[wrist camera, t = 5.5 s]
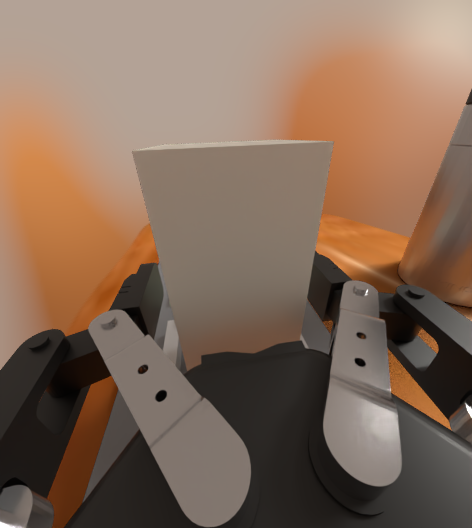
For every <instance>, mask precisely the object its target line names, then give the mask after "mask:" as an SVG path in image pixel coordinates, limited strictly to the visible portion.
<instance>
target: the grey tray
mask: <svg viewBox="0 0 472 528" xmlns="http://www.w3.org/2000/svg"><path fill="white" fill-rule="evenodd" d="M158 269H159V273H160V277H161V281H162V285H163V290H164V297H163V301H162V306H161V311H160V315H159V320H158V324H157V329H156V333H155V338H154V341H155V342H156V343H157V345H158V346H159V347H160V348H161V349H162V350H163V352H164V353H165V354H166V355H167V356H168V358H169V359H170V360H171V361H172V362H173V364H174V365H175V366H176V367H177V368H178V370H179V371H180V372H181V373H182V374H184V373H186V372H187V368H186V364H185V360H184V356H183V352H182V348H181V344H180V340H179V336H178V332H177V328H176V324H175V320H174V316H173V312H172V308H171V304H170V300H169V296H168V292H167V288H166V284H165V280H164V276H163V273H162V269H161V265H160V261H159V264H158ZM330 336H331V334H330V333H329V331H328V330H327V328H326V327H325V325H324V324H323V322H322V321H321V320H320V318H319V317H318V315H317V314H316V312H315V311H314V309H313V308H312V306H311V305H310V303H309V302H308V300H307V301H306V307H305V313H304V318H303V324H302V330H301V336H300V340H302V342H303V344H304V346H305V348H309V349H315V350H318V351H321V352H324V353H326V354H327V351H328V346H329V341H330ZM139 429H140V428H139V426H138V425H137V423H136V421H135V419H134V417H133V415H132V413H131V411H130V409H129V407H128V406H127V404H126V402H125V400H124V398H123V396H122V394H121V392H120V390H119V389H118V393H117V396H116V399H115V402H114V405H113V408H112V411H111V415H110V418H109V421H108V424H107V427H106V430H105V433H104V437H103V440H102V443H101V446H100V449H99V452H98V455H97V459H96V462H95V465H94V468H93V471H92V474H91V477H90V481H89V484H88V487H87V490H86V493H85V496H84V499H83V502H84V501H85V499H86V498H87V497H88V495H89V494H90V493H91V491H92V490H93V489H94V487H95V486H96V485H97V484H98V482H99V481H100V480H101V478H102V477H103V476H104V474H105V473H106V472H107V470H108V469H109V468H110V467H111V465H112V464H113V463H114V461H115V460H116V459H117V457H118V456H119V455H120V453H121V452H122V451H123V450H124V448H125V447H126V446H127V444H128V443H129V442H130V440H131V439H132V438H133V436H134V435H135V434H136V432H137V431H138V430H139Z"/></svg>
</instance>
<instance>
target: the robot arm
mask: <svg viewBox="0 0 472 528" xmlns="http://www.w3.org/2000/svg"><path fill="white" fill-rule="evenodd" d="M466 104H467V105H466V106H465V107H464V109H463V112H462V114H461V117H460V119H459V121H458V124H457V126H456V129H455V131H454V134H453V136H452V139H451V141H450V145H449V146H448V149H447V151H446V154H445V156H444V158H443V161H442V163H441V166H440V168H439V170H438V173H437V175H436V178H435V180H434V183H433V185H432V187H431V190H430V192H429V195H428V197H427V200H426V202H425V204H424V207H423V209H422V212H421V214H420V217H419V219H418V221H417V224H416V226H415V228H414V231H413V233H412V236H411V238H410V240H409V243H408V245H407V247H406V250H405V252H404V255H403V257H402V260H401V262H400V265H399V267H398V274H399V276H400V277H401V279H402V280H403V281H405V282H406V283H407V284H408V285H400V286H398V287H397V289H396V291H395V293H394V294H391V293H380V292H378V291H377V290H376V289H375V288H374V287H373V286H372V285H370V284H368V283H365V282H362V281H353V280H352V279H350V278H349V277H348V276H347V275H346V274H345V273H344V272H343V271H342V270H341V269H340V268H339V267H338V266H336V265H335V264H334V263H333V262H332V261H331V260H330V259H329V258H327V257H325V256H323V255H321V254H320V255H319V254H318V253H317V252H316V251H315V254H314V260H313V266H312V272H311V278H310V283H309V289H308V295H307V299H308V300H309V302H310V303H311V305H312V306H313V308H314V309H315V311H316V312H317V314H318V315H319V317H320V318H321V320H322V321H329V320H332V321H333V326H332V330H331V336H330V341H329V346H328V351H327V354H326V353H324V352H321V351H318V350H315V349H309V348H305V346H304V344H303V342H302V340H299V341H293V342H286V343H279V344H276V345H274V346H271V347H269V348H266V349H264V350H262V351H259V352H257V353H240V352H220V353H213V354H207V355H201V364H200V365H197V366H195V367H193V368H192V369H190V370H189V371H187V372H186V373H184V374H182V373H181V372H180V371H179V370H178V368H177V367H176V366H175V365H174V364H173V362H172V361H171V360H170V359H169V358H168V356H167V355H166V354H165V353H164V352H163V350H162V349H161V348H160V347H159V346H158V345H157V343H156V342H155V341H154V338H155V333H156V329H157V324H158V320H159V315H160V311H161V306H162V301H163V297H164V290H163V285H162V281H161V277H160V273H159V269H158V266H157V264H156V263H148V264H141V265H140V267H139V269H138V272H137V274H131V275H130V276H129V277H128V278H127V279H126V280H125V281H124V283H123V284H122V286H121V288H120V290H119V292H118V293H119V294H117V296H116V298H115V300H114V302H113V304H112V306H111V308H110V310H109V311H107V312H105V313H103V314H101V315H99V316H97V317H96V318H95V319H94V320H93V321H92V322H91V323H90V325H89V328H88V329H87V330H84V331H81V332H78V333H75V334H72V335H70V336H67V337H66V336H65V335H64V333H63V332H62V331H61V330H58V329H52V330H47V331H43V332H41V333H38V334H36V335H34V336H32V337H31V338H29V339H28V340H26V341H25V342H24V343H23V344H22V345H21V346H20V347H19V348H18V349H17V350H16V352H15V353H14V354H13V355H12V357H11V358H10V359H9V360H8V362H7V363H6V364H5V365H4V367H3V368H2V369H1V370H0V528H52V524H53V519H54V509H53V505H52V504H51V502H50V501H49V500H48V499H47V496H48V494H49V491H50V489H51V486H52V484H53V481H54V478H55V476H56V473H57V471H58V468H59V465H60V463H61V460H62V458H63V455H64V453H65V450H66V447H67V445H68V442H69V440H70V437H71V434H72V432H73V429H74V427H75V424H76V422H77V419H78V416H79V414H80V411H81V409H82V406H83V403H84V401H85V398H86V396H87V393H88V391H89V388H90V385H91V384H93V383H95V382H98V381H100V380H102V379H105V378H107V377H109V376H112V377H113V379H114V381H115V383H116V385H117V387H118V388H119V390H120V392H121V394H122V396H123V398H124V400H125V402H126V404H127V406H128V407H129V409H130V411H131V413H132V415H133V417H134V419H135V421H136V423H137V425H138V426H139V428H140V429H139V430H138V431H137V432H136V434H135V435H134V436H133V438H132V439H131V440H130V442H129V443H128V444H127V446H126V447H125V448H124V450H123V451H122V452H121V453H120V455H119V456H118V457H117V459H116V460H115V461H114V463H113V464H112V465H111V467H110V468H109V469H108V470H107V472H106V473H105V474H104V476H103V477H102V478H101V480H100V481H99V482H98V484H97V485H96V486H95V487H94V489H93V490H92V491H91V493H90V494H89V495H88V497H87V498H86V499H85V501H84V502H83V503H82V504H81V506H80V507H79V508H78V510H77V511H76V512H75V514H74V515H73V516H72V518H71V519H70V520H69V521H68V523H67V524H66V526H65V527H64V528H472V322H471V321H470V320H469V319H467V318H466V317H464V316H463V315H462V314H460V313H459V312H457V311H456V310H455V309H453V308H452V307H450V306H449V305H447V304H446V303H445V302H448V303H452V304H456V305H461V306H467V307H472V90H471V92H470V95H469V97H468V99H467V102H466ZM443 301H445V302H443ZM421 328H423V329H424V330H425V331H426V332H427V333H428V334H429V335H430V336H432V337H433V338H434V339H435V341H436V342H437V344H438V347H439V351H438V353H437V354H436V353H435V352H434V351H433V350H432V349H431V348H430V347H429V346H428V345H427V344H426V343H425V342H424V341H423V340H422V339H421V338H420V337H419V336H418V333H419V331H420V329H421ZM387 347H388V349H389V350H390V351H391V352H392V353H393V355H394V356H395V357H396V358H397V359H398V361H399V362H400V363H401V364H402V365H403V367H404V368H405V369H406V370H407V371H408V372H409V374H410V375H411V376H412V377H413V378H414V380H415V381H416V382H417V383H418V384H419V386H420V387H421V388H422V389H423V390H424V392H425V393H426V394H427V395H428V396H429V398H430V399H431V400H432V401H433V402H434V403H435V405H436V406H437V407H438V408H439V409H440V411H441V412H442V413H443V414H444V415H445V417H446V418H447V419H448V420H449V423H450V427H451V429H452V431H451V430H450V429H448V428H446V427H445V426H443V425H442V424H440V423H438V422H437V421H435V420H434V419H432V418H430V417H429V416H427V415H426V414H424V413H422V412H421V411H419V410H418V409H416V408H414V407H413V406H411V405H410V404H408V403H406V402H405V401H403V400H402V399H400V398H398V397H397V396H395V395H394V394H392V393H391V388H390V375H389V362H388V349H387ZM45 390H46V391H45ZM44 392H45V393H44ZM41 397H42V398H41ZM40 399H41V400H40ZM39 401H40V402H39Z"/></svg>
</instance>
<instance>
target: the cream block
mask: <svg viewBox="0 0 472 528" xmlns="http://www.w3.org/2000/svg"><path fill="white" fill-rule="evenodd" d="M333 144H334V142H333V141H299V140H258V141H235V142H213V143H192V144H168V145H159V146H154V147H149V148H144V149H139V150H134V151H132V153H133V157H134V161H135V165H136V169H137V173H138V177H139V181H140V185H141V189H142V193H143V197H144V201H145V205H146V209H147V213H148V217H149V221H150V225H151V229H152V233H153V237H154V241H155V245H156V249H157V253H158V257H159V261H160V265H161V269H162V273H163V276H164V280H165V284H166V288H167V292H168V296H169V300H170V304H171V308H172V312H173V316H174V320H175V324H176V328H177V332H178V336H179V340H180V344H181V348H182V352H183V356H184V360H185V364H186V368H187V371H189V370H190V369H192V368H193V367H195V366H197V365H200V364H201V355H207V354H213V353H220V352H240V353H257V352H259V351H262V350H264V349H266V348H269V347H271V346H274V345H276V344H279V343H286V342H293V341H299V340H300V336H301V330H302V324H303V318H304V313H305V307H306V301H307V295H308V289H309V283H310V278H311V272H312V266H313V260H314V254H315V249H316V243H317V237H318V231H319V225H320V219H321V214H322V207H323V202H324V195H325V190H326V184H327V179H328V173H329V167H330V161H331V155H332V149H333Z"/></svg>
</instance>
